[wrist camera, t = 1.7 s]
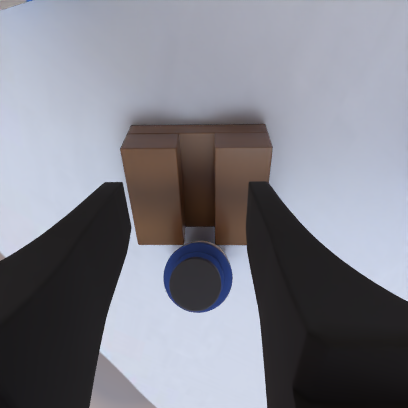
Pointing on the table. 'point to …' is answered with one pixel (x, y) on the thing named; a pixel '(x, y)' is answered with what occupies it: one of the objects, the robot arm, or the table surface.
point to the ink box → (11, 3)
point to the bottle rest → (193, 179)
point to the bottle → (198, 276)
